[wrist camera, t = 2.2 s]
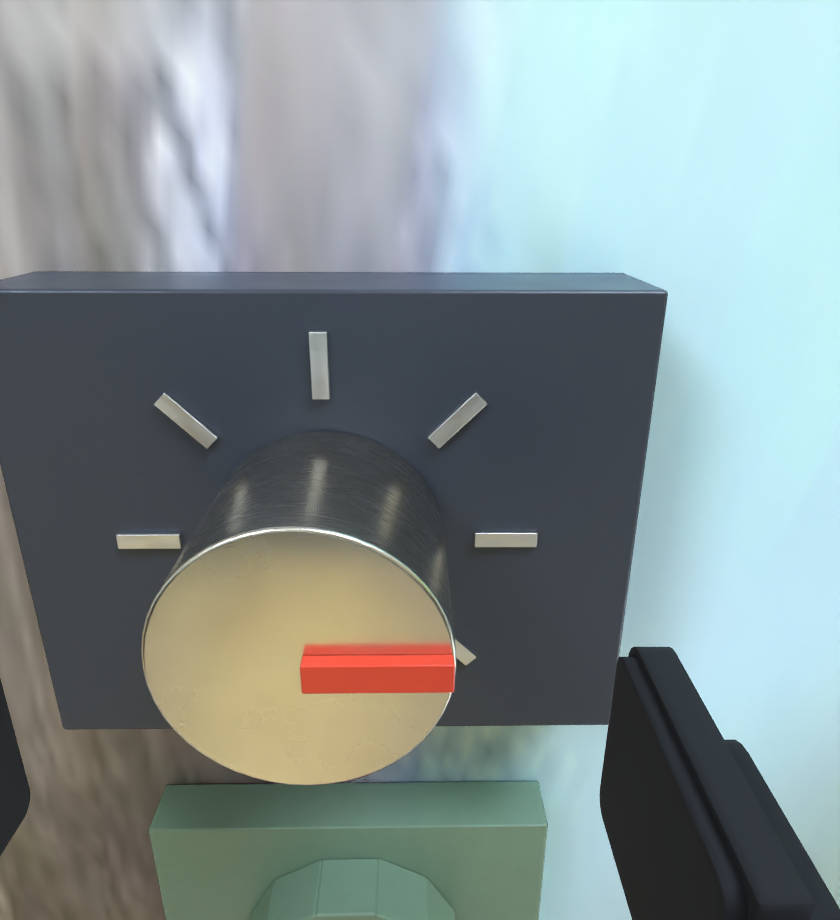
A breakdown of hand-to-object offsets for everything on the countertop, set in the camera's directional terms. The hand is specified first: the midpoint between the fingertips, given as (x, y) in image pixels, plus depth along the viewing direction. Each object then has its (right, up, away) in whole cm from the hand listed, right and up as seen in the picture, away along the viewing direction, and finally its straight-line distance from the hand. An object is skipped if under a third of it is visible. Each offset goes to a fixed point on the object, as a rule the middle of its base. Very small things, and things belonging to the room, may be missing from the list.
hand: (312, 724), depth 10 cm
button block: (-1, -11, +14) cm, 17 cm away
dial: (0, +2, +5) cm, 6 cm away
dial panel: (0, +3, +8) cm, 9 cm away
